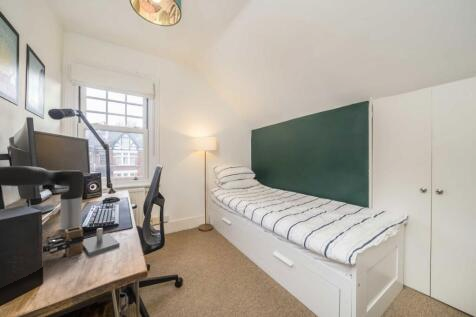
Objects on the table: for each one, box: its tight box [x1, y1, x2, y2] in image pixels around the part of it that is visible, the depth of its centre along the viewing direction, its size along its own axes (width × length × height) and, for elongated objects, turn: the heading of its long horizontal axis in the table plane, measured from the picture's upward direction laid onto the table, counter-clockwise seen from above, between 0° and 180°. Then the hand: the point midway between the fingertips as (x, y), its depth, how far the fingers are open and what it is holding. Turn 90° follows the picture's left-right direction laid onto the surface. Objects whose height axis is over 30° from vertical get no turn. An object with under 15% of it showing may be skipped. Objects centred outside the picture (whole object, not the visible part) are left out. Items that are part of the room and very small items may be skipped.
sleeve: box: [64, 226, 84, 258], centre depth 78 cm, size 5×5×10 cm
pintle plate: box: [83, 227, 121, 257], centre depth 85 cm, size 17×11×8 cm, turn 50°
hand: (81, 236), depth 80 cm, fingers closed on sleeve, 5 cm apart
